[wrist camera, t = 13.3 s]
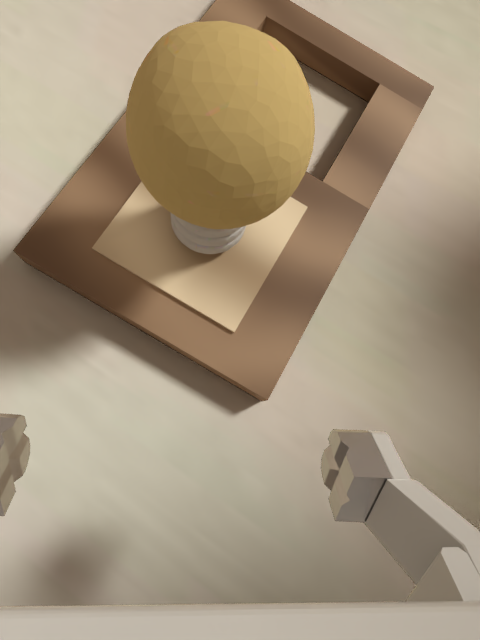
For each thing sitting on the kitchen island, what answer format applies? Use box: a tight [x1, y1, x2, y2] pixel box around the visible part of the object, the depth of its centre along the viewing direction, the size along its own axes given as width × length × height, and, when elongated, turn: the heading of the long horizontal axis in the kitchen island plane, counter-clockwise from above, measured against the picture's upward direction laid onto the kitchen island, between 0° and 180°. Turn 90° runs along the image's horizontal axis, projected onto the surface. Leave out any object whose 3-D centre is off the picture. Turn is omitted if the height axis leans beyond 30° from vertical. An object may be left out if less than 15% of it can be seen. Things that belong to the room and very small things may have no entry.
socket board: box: [13, 0, 434, 401], centre depth 23 cm, size 22×14×2 cm, turn 150°
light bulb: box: [126, 21, 315, 254], centre depth 16 cm, size 6×6×10 cm
